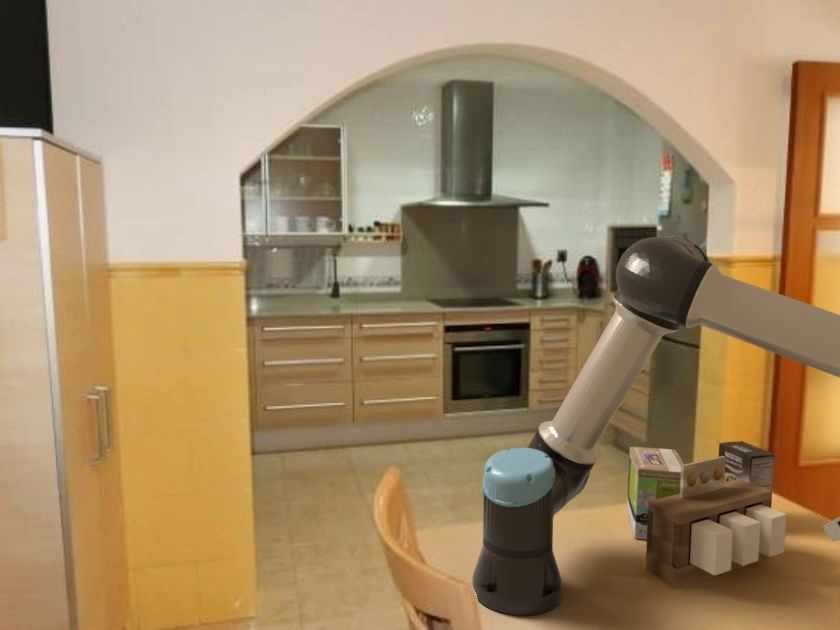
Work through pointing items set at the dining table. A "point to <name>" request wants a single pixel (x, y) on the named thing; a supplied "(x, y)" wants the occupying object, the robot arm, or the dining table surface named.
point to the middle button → (743, 537)
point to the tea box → (650, 482)
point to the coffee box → (747, 463)
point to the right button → (769, 529)
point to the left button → (711, 547)
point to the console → (694, 518)
